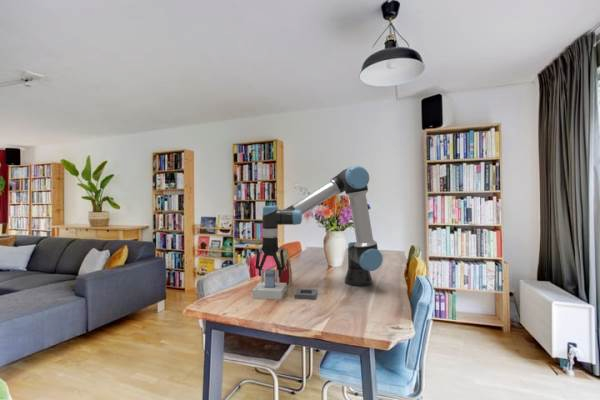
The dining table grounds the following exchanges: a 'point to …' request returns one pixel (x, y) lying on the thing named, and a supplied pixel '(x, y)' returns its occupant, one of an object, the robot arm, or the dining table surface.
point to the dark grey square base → (306, 293)
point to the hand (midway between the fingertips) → (270, 283)
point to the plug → (270, 278)
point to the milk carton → (285, 269)
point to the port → (269, 291)
